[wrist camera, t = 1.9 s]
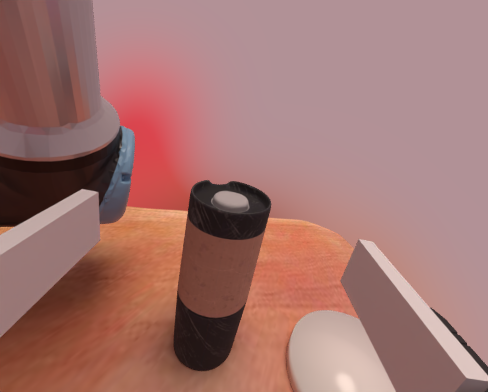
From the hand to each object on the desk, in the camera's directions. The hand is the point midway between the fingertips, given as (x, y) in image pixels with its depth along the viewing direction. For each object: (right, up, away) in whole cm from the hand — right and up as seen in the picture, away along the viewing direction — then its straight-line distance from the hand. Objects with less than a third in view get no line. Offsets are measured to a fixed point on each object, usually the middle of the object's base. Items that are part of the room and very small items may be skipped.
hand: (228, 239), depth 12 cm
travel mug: (-4, -16, +18) cm, 24 cm away
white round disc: (+14, -20, +17) cm, 30 cm away
